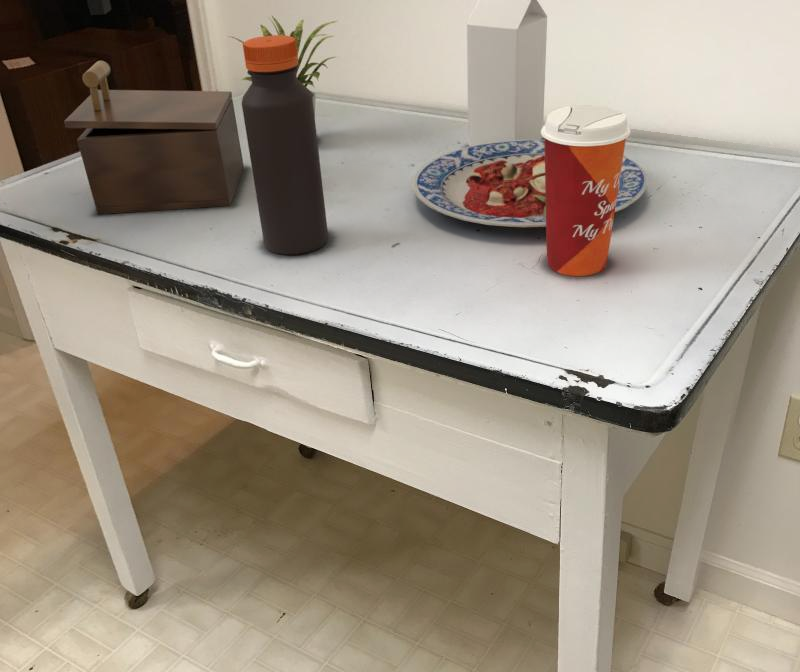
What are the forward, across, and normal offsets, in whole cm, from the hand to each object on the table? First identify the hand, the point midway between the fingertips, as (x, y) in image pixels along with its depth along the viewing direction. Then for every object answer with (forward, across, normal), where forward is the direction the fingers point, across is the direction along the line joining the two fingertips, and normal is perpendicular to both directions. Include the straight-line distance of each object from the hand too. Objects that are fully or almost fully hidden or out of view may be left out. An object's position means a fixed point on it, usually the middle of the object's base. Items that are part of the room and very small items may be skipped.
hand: (101, 12), depth 89 cm
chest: (+21, -3, -4) cm, 22 cm away
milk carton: (+21, -44, -13) cm, 51 cm away
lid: (+12, -2, -4) cm, 12 cm away
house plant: (+21, -18, -19) cm, 33 cm away
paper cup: (+21, -47, +23) cm, 56 cm away
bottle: (+21, -19, +14) cm, 32 cm away
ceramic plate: (+21, -45, +5) cm, 50 cm away
